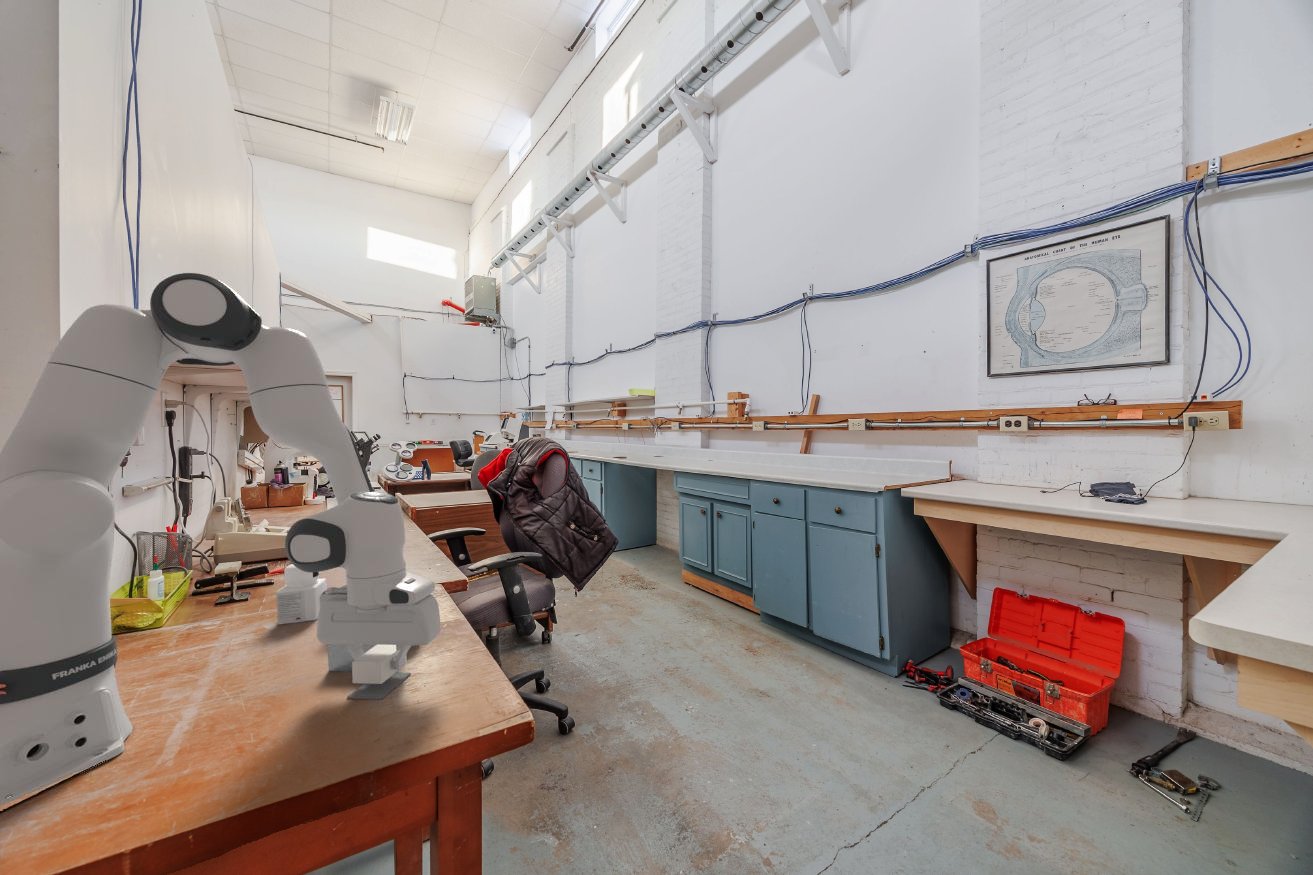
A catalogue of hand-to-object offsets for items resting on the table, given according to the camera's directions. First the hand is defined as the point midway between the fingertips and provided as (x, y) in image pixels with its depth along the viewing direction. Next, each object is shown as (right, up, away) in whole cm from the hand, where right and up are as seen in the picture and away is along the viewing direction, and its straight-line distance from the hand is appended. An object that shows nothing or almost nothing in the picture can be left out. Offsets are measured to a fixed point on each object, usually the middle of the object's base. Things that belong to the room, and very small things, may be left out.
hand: (380, 667), depth 83 cm
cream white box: (0, -1, 0) cm, 1 cm away
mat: (0, -3, 0) cm, 3 cm away
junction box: (-7, -3, +11) cm, 14 cm away
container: (-36, -3, +32) cm, 49 cm away
